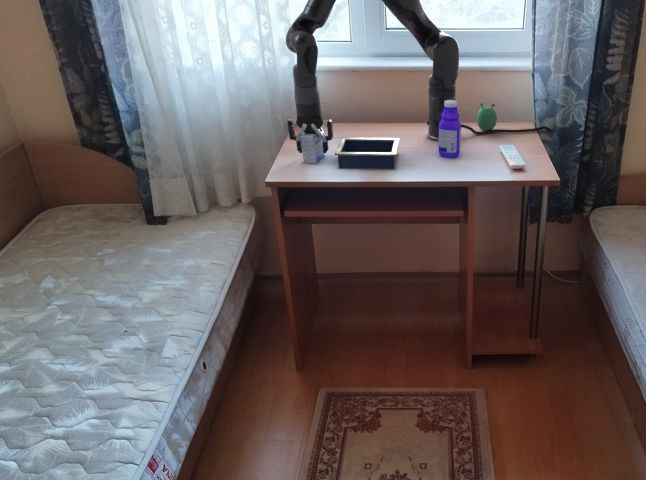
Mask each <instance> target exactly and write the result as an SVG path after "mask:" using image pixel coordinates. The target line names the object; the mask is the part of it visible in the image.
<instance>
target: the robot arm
mask: <svg viewBox="0 0 646 480" xmlns="http://www.w3.org/2000/svg"><path fill="white" fill-rule="evenodd" d="M380 1H381V2H382V3H383V5H384V6H385V8H386V9H387V10H388V11H389V12H390V14H391V15H393V16H394V18H395V19H396V20H397V21H398V22H399V23H400V24H401V25H402V26H403V28H405V29H406V30H408V32H409V33H410V34H411V35H412V36H413V37H414V38H415V40H416V42H417V43H418V45H419V46H420V48H421V49H422V50H423V52H424V53H425V55H426V56H427V57H428V59H429V60H430V61H431V62H432V73H431V75H429V76H428V81H427V83H428V84H427V85H428V88H427V91H428V92H427V93H428V94H427V95H428V96H427V97H428V98H427V99H428V101H427V102H428V106H427V107H428V109H427V111H428V112H427V114H428V115H427V117H428V119H427V121H426V126H427V127H428V129H427V130H428V133H427V136H428V137H427V138H429V139H431V140H433V141H439V124H440V121H441V119H442V116H441V115H442V113H443V111H444V101H446V100H455V101H456V89H457V87H456V85H457V80H458V76H459V69H460V68H459V66H460V46H459V42H458V41H457V40H456V38H455V37H453V36H451V35H449V34H447V33H445V32H444V31H442V30H441V29H440V28H439V27H438V26H437V25H436V24H435V23H434V22H433V20H431V19H430V17H429V16H428V14H427V12H426V11H425V9H424V6H423V4H422V2H421V0H380ZM337 2H338V0H307V2H306V4H305V6H304V8H303V10H302V12H301V13H300V14H299V15H298V16H297V17H296V19H295V20H294V21H293V22H292V24H291V25H290V26H289V29H288V30H287V32H286V36H285V45H286V47H287V49H288V50H289V51H290V52H291V53H294V54H295V55H296V63H295V64H294V65H293V67H292V78H293V86H294V87H293V88H294V90H293V93H294V103H295V111H296V119H292V118H289V119H288V120H287V130H288V137H289V139H290V141H295V142H296V143H295V144H296V151H297V152H299V154H302V146H301V136H302V135H303V134H304V133H306V134H309V133H312V134H316V133H317V134H318V136H319V137H320V138H321V139H322V140H323V142H322V143H323V153H324V154H327V152H328V151H329V141H332V140H333V138H334V129H333V128H334V127H333V120H332V119H331V118H329V119H323V117H322V109H321V97H320V89H319V86H318V75H317V65H318V57H319V45H318V41H317V38H316V36H315V34H314V33H315V32H316V31H317V30H318V29H321V28H323V27H324V26H325V25H326V23H327V21H328V20H329V17H330V15H331V13H332V12H333V10H334V8H335V6H336V4H337ZM296 125H297V126H298V127H299V132H298V134H297V135H296V133H295V126H296ZM323 125H324V126H325V128H327V134H326V133H325V131H324V129H323V128H322V126H323ZM548 127H549V126H547V127H546V125H542V126H539V127H535V128H522V129H521V128H519V129H504V128H498V129H497V128H493V129H492V130H488V131H483V130H482V131H478V130H477V131H476V130H475V129H474V128H473V127H471V126H469V125H467V124H462V123H461V128H463V129H466V130H469V131H471V132H472V133H473V134H474V135H479V136H480V135H487V134H492V133H512V134H513V133H529V132H538V131H540V130H547V131H548V132H550V131H552V129H551V128H550V127H549V128H548ZM318 132H319V133H318Z"/></svg>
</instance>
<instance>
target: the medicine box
mask: <svg viewBox="0 0 646 480" xmlns="http://www.w3.org/2000/svg"><path fill="white" fill-rule="evenodd" d="M318 133H319V132H318ZM322 142H323V140H322V139H321V138H320V137H319V136H318V134H317V133H316V134H312V133H309V134H306V133H303V135H302V136H301V146H302V153H301V154H302V159H303V160H302V161H303V164H315V165H317V164H318V163H319V161H320V160H321V159H322V158H323V157H324V156H325V153H323V143H322Z"/></svg>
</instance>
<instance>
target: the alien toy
mask: <svg viewBox="0 0 646 480" xmlns="http://www.w3.org/2000/svg"><path fill="white" fill-rule="evenodd" d="M490 105H491V106H484V102H482V101H481V102H480V103H479V104H478V106H480V107H481V108H480V109H479V110H478V113H477V116H476V122H477V126H478V128H479V130H481V131H482V132H483V131H488V130H494V129H495V127H496V125H497V120H498V116H497V112H496V110H495V109H494V107H496V103H495V102H492V103H491V104H490Z"/></svg>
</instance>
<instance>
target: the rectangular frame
mask: <svg viewBox="0 0 646 480" xmlns="http://www.w3.org/2000/svg"><path fill="white" fill-rule="evenodd" d="M399 144H400V137H341V138H340V140H339V142H338V145H337V147H336V149H335V152H334V156H337V161H338V162H337V163H338V169H347V170H349V169H351V170H353V169H355V170H357V169H358V170H394V169H395V167H396V162H397V159H398V158H397V157H398V148H399Z"/></svg>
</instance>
